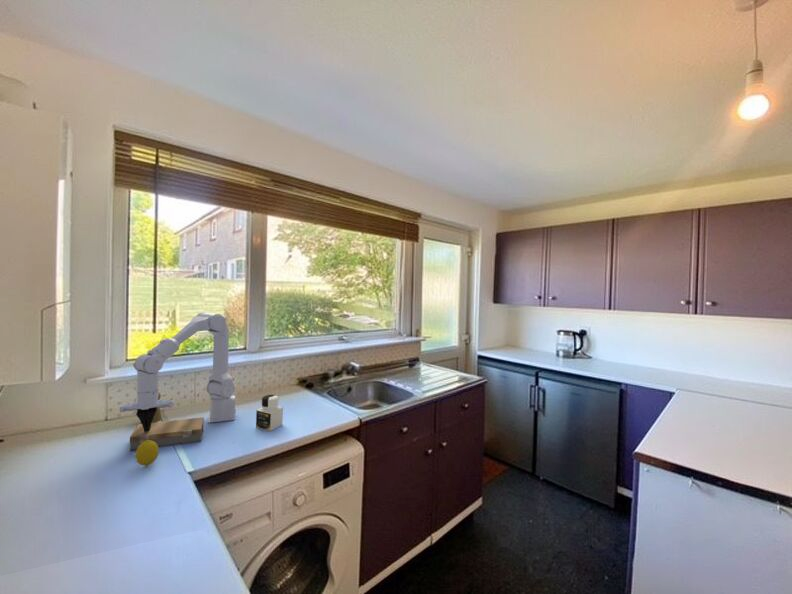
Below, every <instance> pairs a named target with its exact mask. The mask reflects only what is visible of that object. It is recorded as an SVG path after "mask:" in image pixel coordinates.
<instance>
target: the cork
mask: <svg viewBox="0 0 792 594" xmlns="http://www.w3.org/2000/svg"><path fill="white" fill-rule="evenodd" d="M161 397H162V395H161V393H160V392H159V391H158V400H161ZM161 414H162V413H161V408H158V409H157V411H156V413H155V415H154V418H153V420H152V423H155V422H161V420H162V415H161Z"/></svg>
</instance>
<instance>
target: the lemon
mask: <svg viewBox="0 0 792 594" xmlns="http://www.w3.org/2000/svg"><path fill="white" fill-rule="evenodd" d="M158 455H159V447H158V445H157V444H156V442H154V441H151V440H146V441H145V442H143V443H141V444H140V445H139V447H138V448H137V450H136V451H135V459H136V461H135V462H137V464H139V465H140V466H144V467H148V466H149V465H152V464H153V463H154V462H155V461H156V460H157V458H158Z"/></svg>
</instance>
